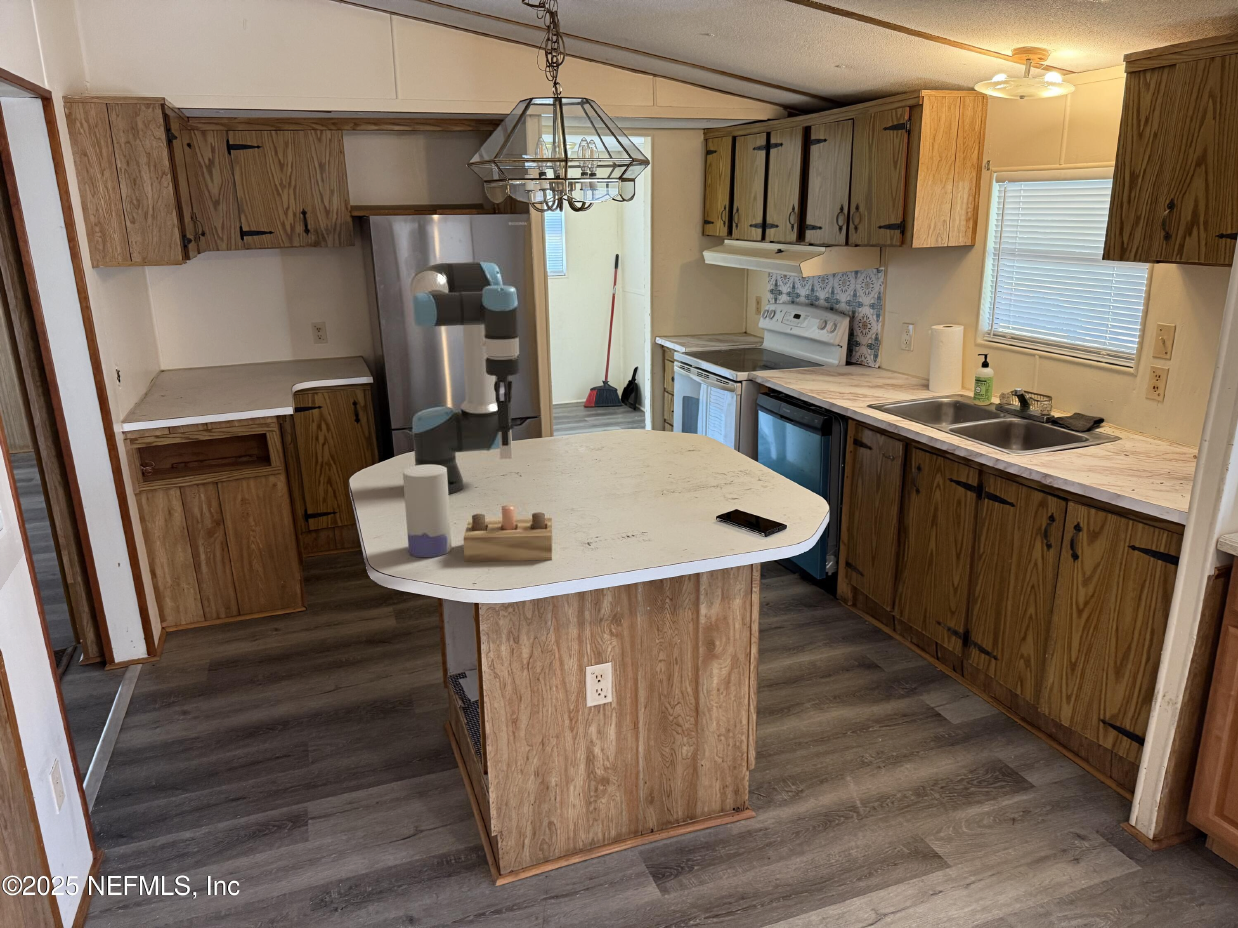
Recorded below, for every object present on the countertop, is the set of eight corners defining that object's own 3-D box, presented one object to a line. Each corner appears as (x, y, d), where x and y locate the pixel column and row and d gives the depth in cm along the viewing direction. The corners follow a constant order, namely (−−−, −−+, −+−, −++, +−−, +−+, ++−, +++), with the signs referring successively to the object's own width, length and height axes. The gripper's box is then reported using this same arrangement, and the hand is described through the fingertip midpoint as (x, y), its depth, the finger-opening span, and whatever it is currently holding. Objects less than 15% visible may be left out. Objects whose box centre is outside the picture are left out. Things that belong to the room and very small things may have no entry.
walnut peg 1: (474, 545, 205) (472, 513, 203) (486, 545, 205) (485, 513, 203) (473, 550, 202) (471, 518, 200) (485, 549, 203) (484, 517, 200)
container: (454, 542, 210) (449, 463, 205) (448, 557, 201) (442, 475, 195) (413, 542, 210) (407, 464, 205) (404, 558, 200) (398, 476, 195)
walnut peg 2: (533, 544, 206) (532, 512, 204) (545, 543, 206) (544, 512, 204) (532, 548, 203) (531, 516, 201) (545, 548, 203) (544, 516, 201)
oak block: (470, 542, 210) (468, 519, 208) (552, 540, 211) (551, 517, 209) (464, 561, 198) (463, 537, 197) (551, 559, 200) (551, 535, 198)
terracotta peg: (503, 536, 205) (502, 505, 203) (516, 536, 205) (514, 504, 203) (502, 541, 202) (501, 509, 200) (515, 541, 202) (514, 508, 200)
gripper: (487, 352, 199) (492, 450, 205) (482, 361, 186) (487, 466, 193) (520, 351, 199) (523, 449, 206) (517, 361, 187) (521, 465, 193)
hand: (506, 457), depth 199 cm, fingers closed
